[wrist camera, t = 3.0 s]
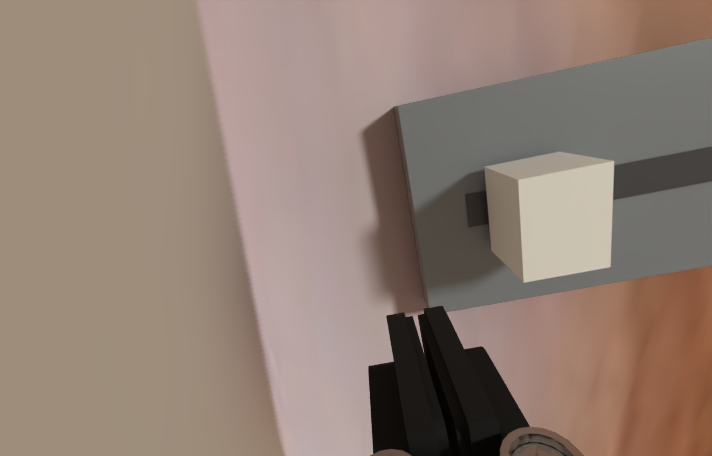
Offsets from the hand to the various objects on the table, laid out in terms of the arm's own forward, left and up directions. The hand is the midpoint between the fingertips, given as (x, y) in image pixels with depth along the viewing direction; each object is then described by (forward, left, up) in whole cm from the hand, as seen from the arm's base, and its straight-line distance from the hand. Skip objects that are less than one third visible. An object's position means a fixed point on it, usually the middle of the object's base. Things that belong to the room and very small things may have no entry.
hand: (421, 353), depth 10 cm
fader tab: (0, +8, -10) cm, 13 cm away
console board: (0, +19, -13) cm, 23 cm away
